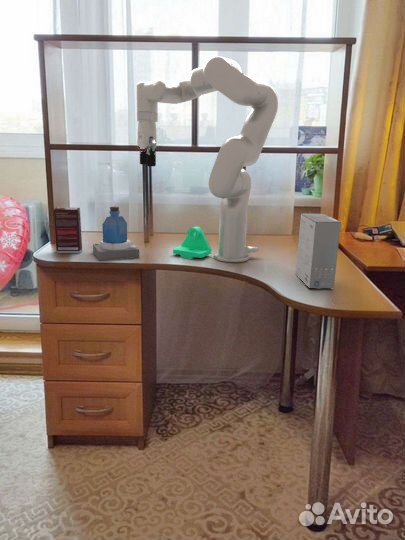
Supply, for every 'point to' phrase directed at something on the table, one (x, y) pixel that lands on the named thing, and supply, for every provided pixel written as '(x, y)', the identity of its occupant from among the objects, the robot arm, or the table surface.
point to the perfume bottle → (114, 227)
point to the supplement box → (67, 230)
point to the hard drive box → (318, 250)
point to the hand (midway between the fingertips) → (147, 165)
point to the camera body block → (115, 250)
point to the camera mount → (194, 245)
